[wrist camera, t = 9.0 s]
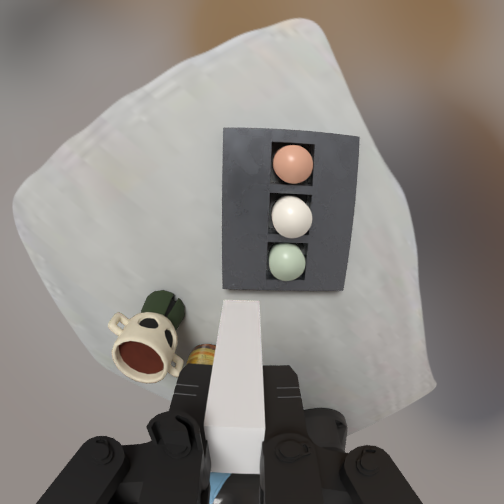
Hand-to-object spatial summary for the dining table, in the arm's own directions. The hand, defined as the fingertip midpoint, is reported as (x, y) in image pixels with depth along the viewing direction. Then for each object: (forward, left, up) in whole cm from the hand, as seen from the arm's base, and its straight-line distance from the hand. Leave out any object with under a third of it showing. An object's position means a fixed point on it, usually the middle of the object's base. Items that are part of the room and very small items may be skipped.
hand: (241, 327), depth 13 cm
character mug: (-15, +12, -27) cm, 33 cm away
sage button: (-6, -5, -26) cm, 27 cm away
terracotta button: (+6, -5, -26) cm, 27 cm away
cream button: (0, -5, -24) cm, 25 cm away
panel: (0, -5, -26) cm, 27 cm away
